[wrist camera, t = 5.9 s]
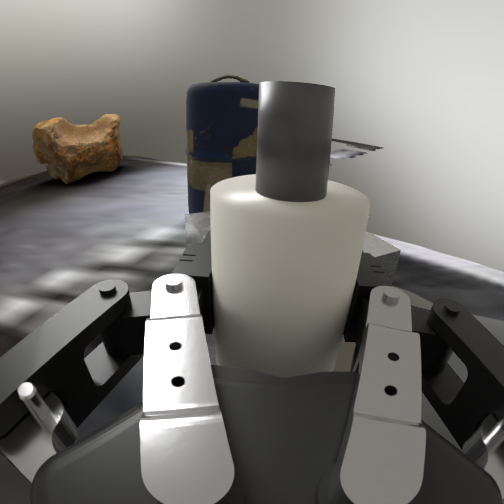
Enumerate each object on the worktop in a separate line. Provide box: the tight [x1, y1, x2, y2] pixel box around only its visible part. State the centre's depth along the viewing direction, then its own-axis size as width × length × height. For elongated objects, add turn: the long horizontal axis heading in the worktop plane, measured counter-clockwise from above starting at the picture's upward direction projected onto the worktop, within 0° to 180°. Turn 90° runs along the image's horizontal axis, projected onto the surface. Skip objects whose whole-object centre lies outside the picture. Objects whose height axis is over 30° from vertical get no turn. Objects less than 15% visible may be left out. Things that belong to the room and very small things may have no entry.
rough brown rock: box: [32, 114, 123, 184], centre depth 61 cm, size 23×17×15 cm
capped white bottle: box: [210, 81, 370, 378], centre depth 11 cm, size 4×4×15 cm
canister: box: [186, 75, 259, 214], centre depth 36 cm, size 10×10×18 cm
